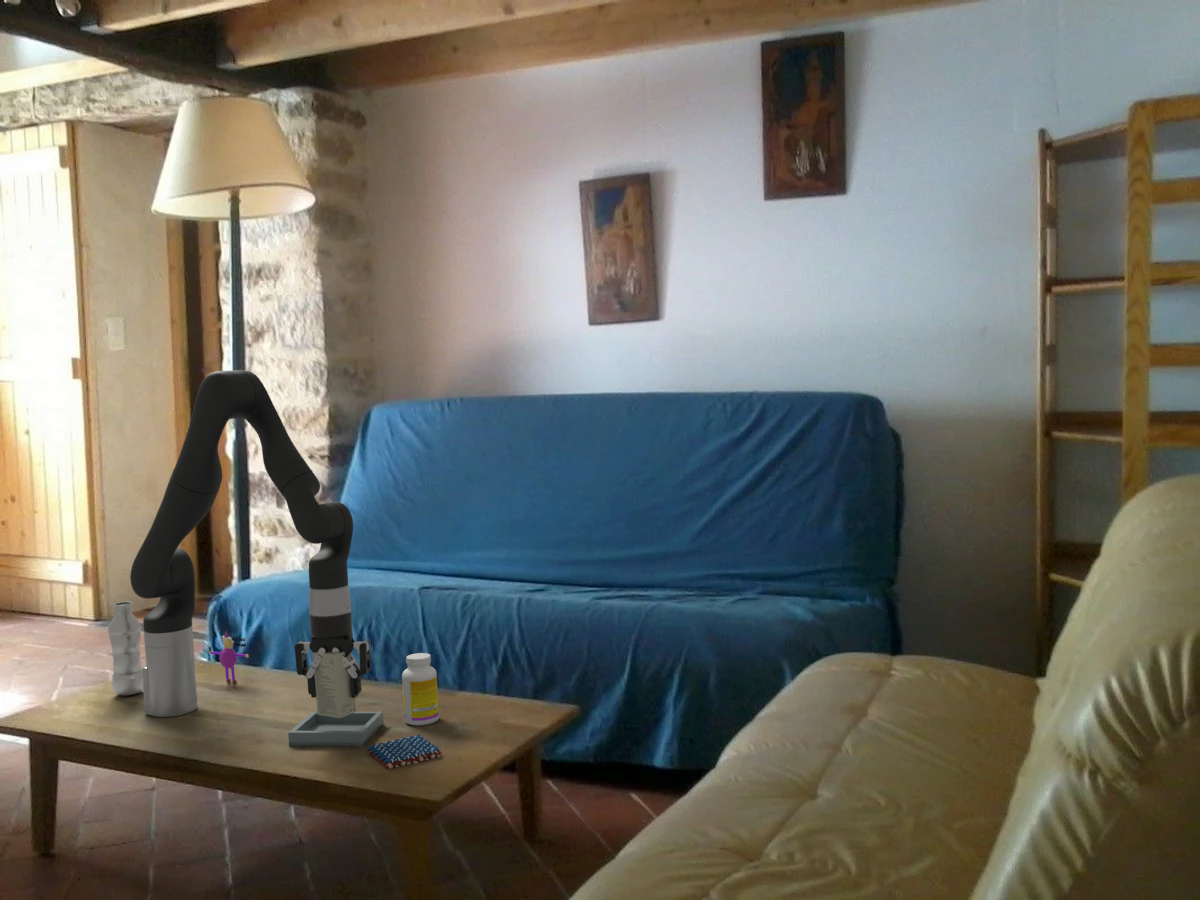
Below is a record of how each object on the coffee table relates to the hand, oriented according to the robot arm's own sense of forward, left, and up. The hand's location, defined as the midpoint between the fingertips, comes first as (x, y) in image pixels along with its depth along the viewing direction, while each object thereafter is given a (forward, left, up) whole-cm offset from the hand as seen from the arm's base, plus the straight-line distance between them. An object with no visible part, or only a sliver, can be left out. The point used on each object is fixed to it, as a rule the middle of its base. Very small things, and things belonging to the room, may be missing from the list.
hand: (335, 696), depth 202 cm
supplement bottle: (+14, +8, -8) cm, 18 cm away
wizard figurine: (-37, +33, -8) cm, 50 cm away
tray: (0, 0, -7) cm, 7 cm away
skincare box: (0, 0, -4) cm, 4 cm away
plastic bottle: (-56, +25, -8) cm, 62 cm away
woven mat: (+16, -10, -8) cm, 21 cm away
